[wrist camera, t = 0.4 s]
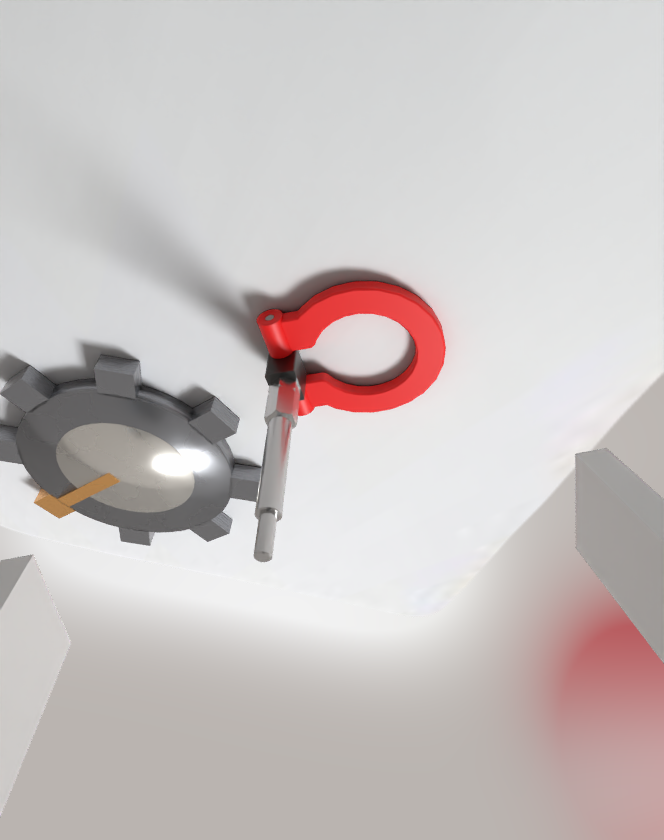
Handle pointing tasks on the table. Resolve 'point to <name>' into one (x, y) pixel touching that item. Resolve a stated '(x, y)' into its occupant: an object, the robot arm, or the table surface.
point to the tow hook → (305, 392)
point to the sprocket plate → (126, 452)
